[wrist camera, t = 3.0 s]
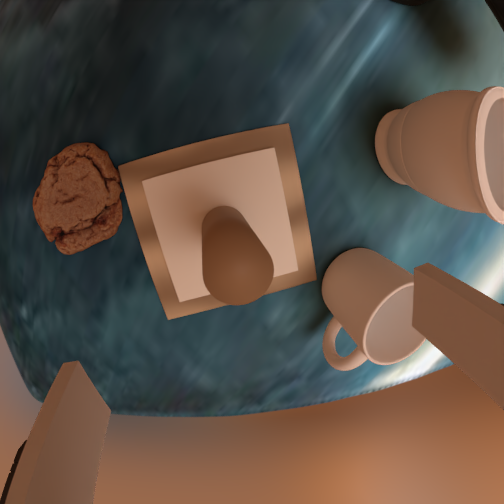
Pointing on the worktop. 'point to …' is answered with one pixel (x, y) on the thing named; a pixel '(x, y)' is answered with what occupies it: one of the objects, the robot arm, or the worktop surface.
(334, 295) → the mug
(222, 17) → the worktop surface
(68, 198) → the cookie
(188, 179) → the lid
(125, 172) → the cloth
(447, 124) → the jar
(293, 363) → the worktop surface
